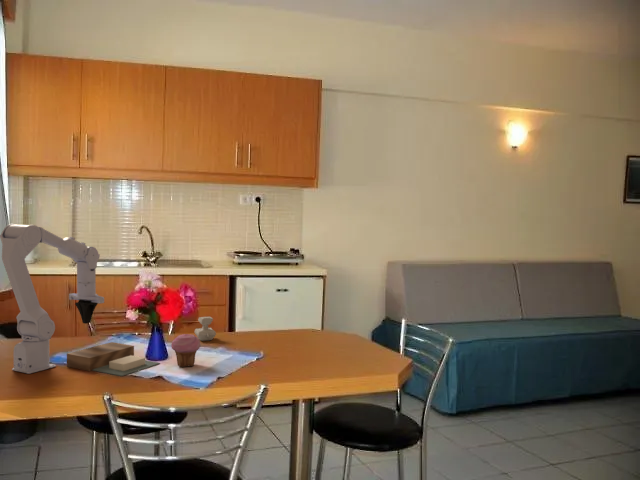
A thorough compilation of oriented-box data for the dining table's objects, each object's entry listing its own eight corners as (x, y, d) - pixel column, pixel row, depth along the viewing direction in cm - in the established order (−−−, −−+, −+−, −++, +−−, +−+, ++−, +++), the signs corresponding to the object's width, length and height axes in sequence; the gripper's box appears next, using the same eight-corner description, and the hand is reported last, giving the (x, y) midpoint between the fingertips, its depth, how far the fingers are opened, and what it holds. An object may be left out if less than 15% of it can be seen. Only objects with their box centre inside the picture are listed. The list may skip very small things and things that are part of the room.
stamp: (193, 337, 225) (193, 315, 225) (210, 336, 228) (210, 314, 228) (199, 343, 217) (199, 320, 217) (217, 341, 220) (217, 319, 219)
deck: (89, 371, 179) (89, 358, 179) (66, 366, 183) (66, 353, 183) (134, 357, 195) (134, 345, 195) (111, 353, 199) (111, 342, 199)
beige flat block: (109, 361, 181) (109, 368, 181) (123, 364, 179) (123, 371, 179) (130, 355, 189) (130, 361, 189) (145, 357, 187) (145, 364, 187)
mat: (121, 376, 174) (121, 375, 174) (92, 370, 180) (92, 369, 180) (159, 363, 188) (159, 362, 188) (131, 358, 194) (131, 357, 194)
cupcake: (171, 369, 182) (172, 337, 181) (170, 362, 190) (170, 331, 190) (201, 368, 184) (201, 336, 184) (199, 361, 193) (199, 330, 192)
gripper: (111, 282, 197) (111, 323, 198) (81, 279, 204) (81, 318, 205) (94, 285, 191) (94, 327, 192) (63, 281, 198) (63, 322, 199)
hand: (86, 322), depth 198 cm, fingers closed
